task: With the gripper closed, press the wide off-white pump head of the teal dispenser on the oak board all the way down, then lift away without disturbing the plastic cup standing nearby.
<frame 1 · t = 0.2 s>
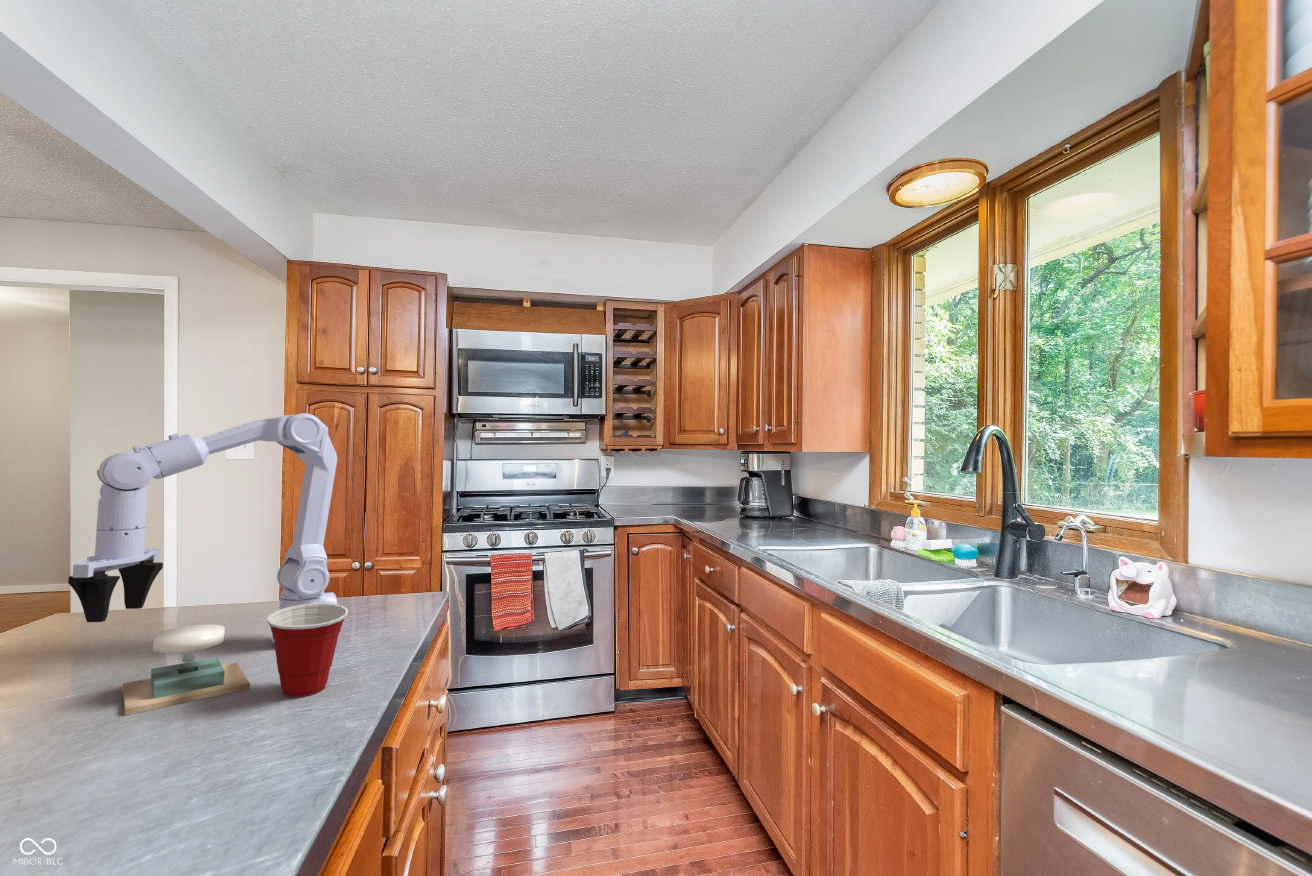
hand: (115, 614, 89), 10 cm above the countertop, fingers open, 7 cm apart
pump head: (189, 646, 86), point 6 cm above the countertop, slide at 0.0 cm
plastic cup: (304, 691, 86), on the countertop
dispenser base: (186, 688, 86), on the countertop
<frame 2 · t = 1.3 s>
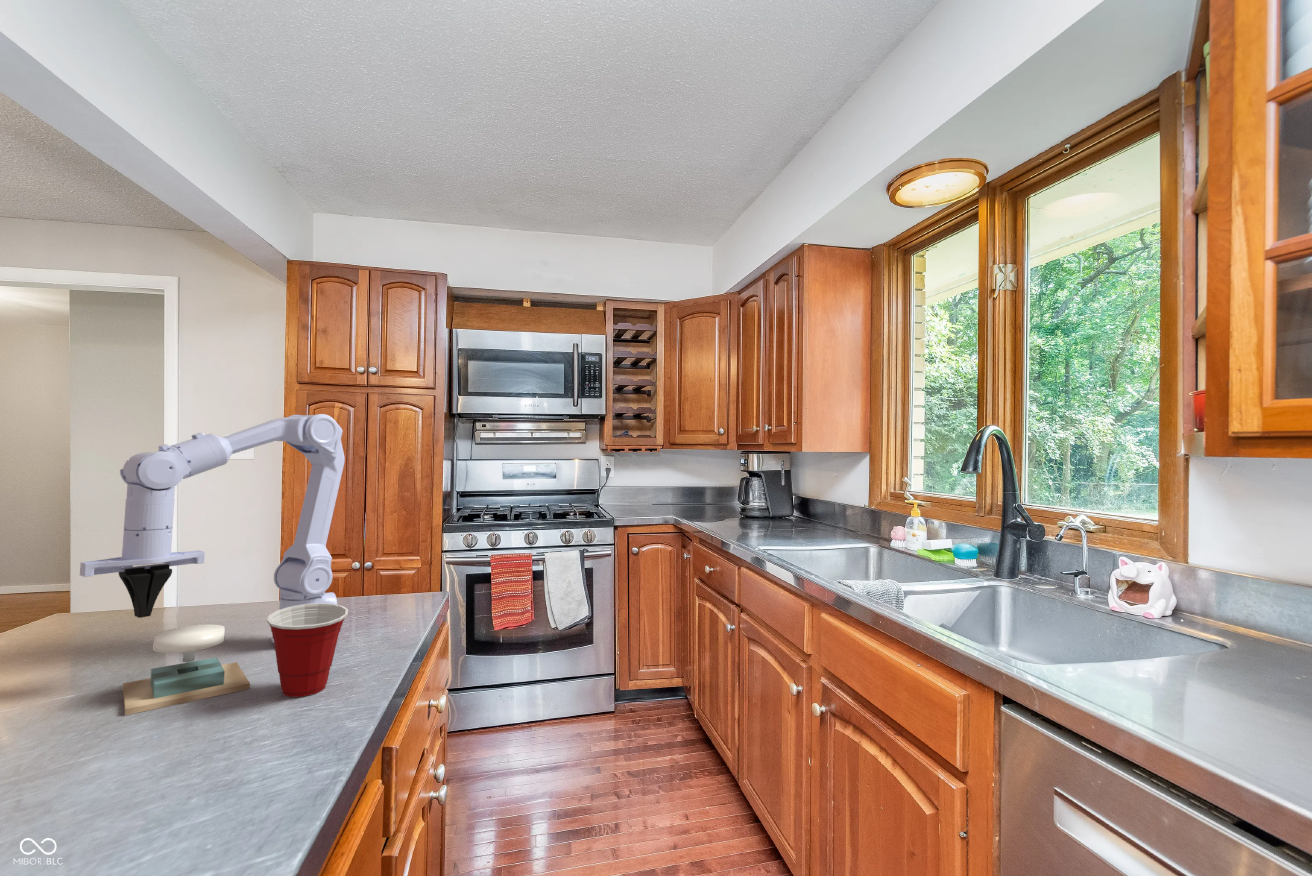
hand: (142, 615, 88), 10 cm above the countertop, fingers closed
nothing on the countertop moved.
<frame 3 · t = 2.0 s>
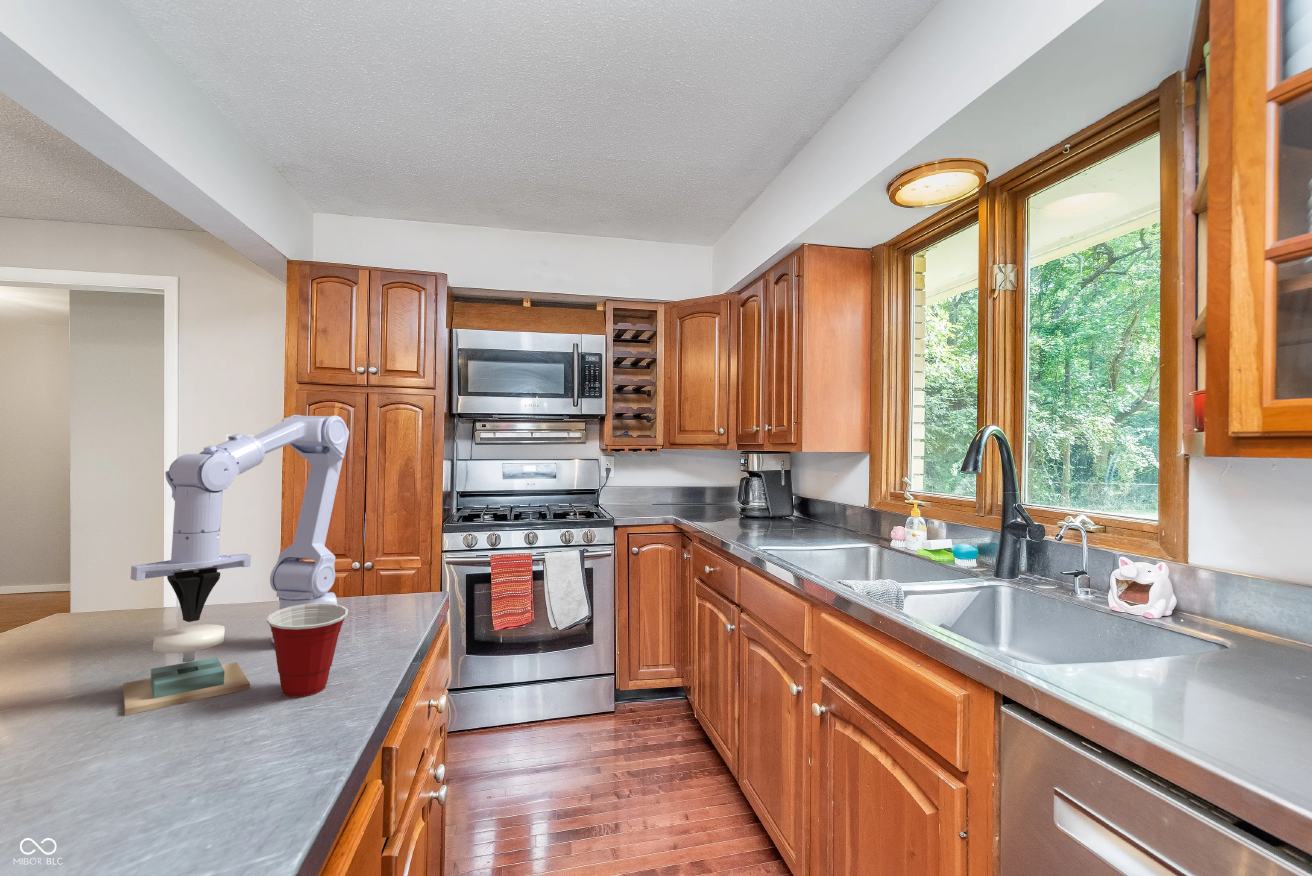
hand: (191, 620, 86), 10 cm above the countertop, fingers closed
nothing on the countertop moved.
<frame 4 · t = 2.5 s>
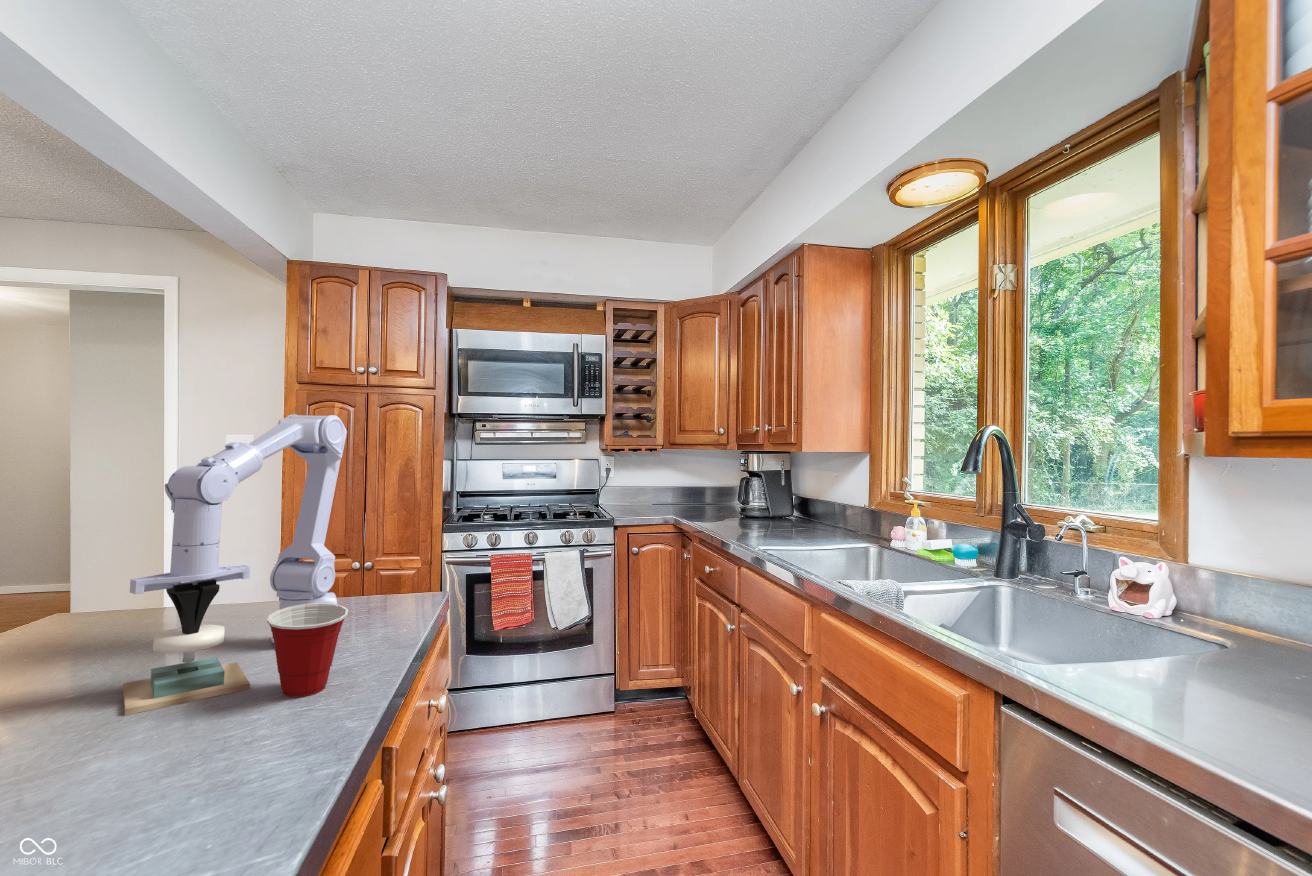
hand: (190, 632, 86), 8 cm above the countertop, fingers closed, pressing on pump head
pump head: (189, 646, 86), point 6 cm above the countertop, slide at 0.0 cm, touching gripper
everything else where it was.
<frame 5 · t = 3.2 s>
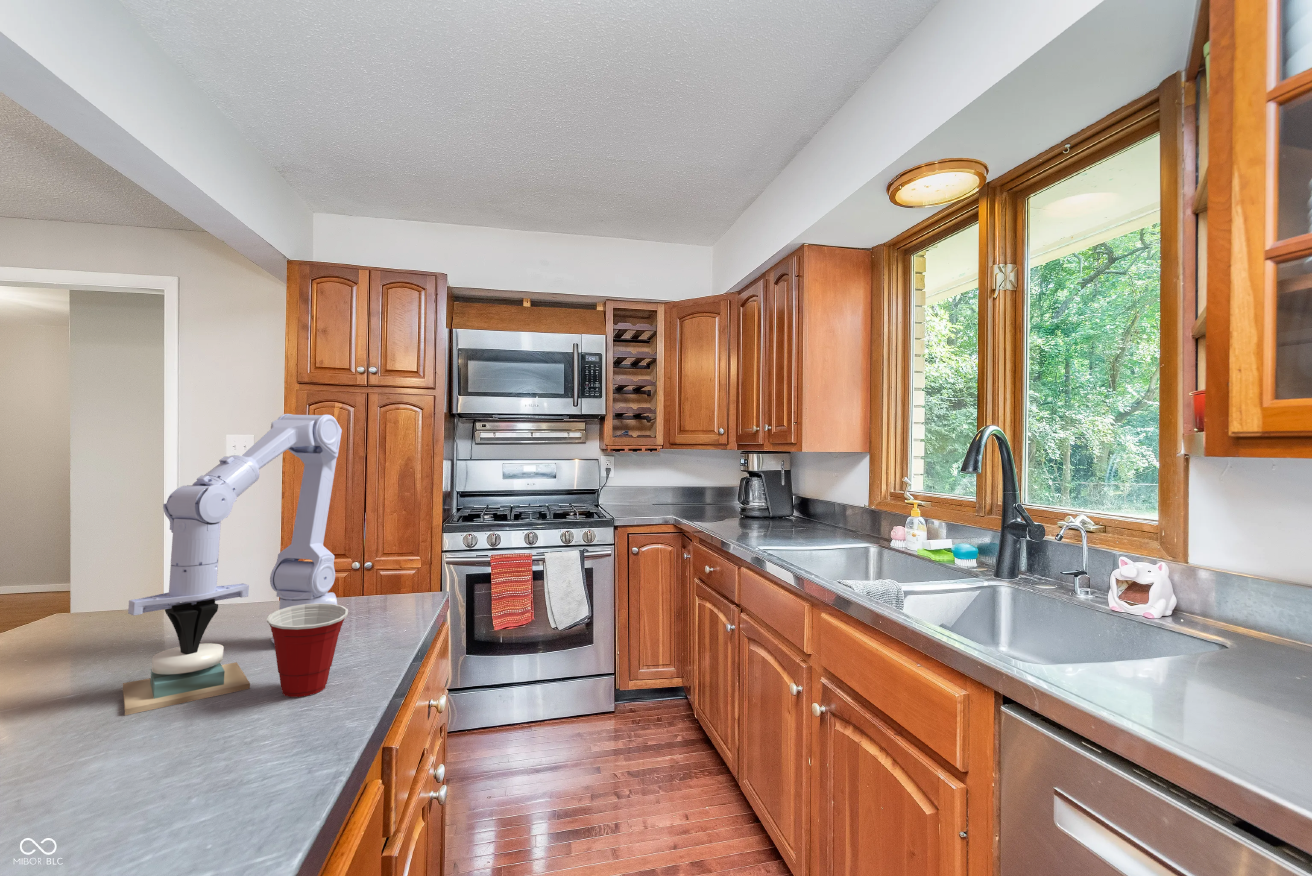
hand: (188, 652, 86), 5 cm above the countertop, fingers closed, pressing on pump head
pump head: (188, 666, 86), point 3 cm above the countertop, slide at 3.0 cm, touching gripper
everything else where it was.
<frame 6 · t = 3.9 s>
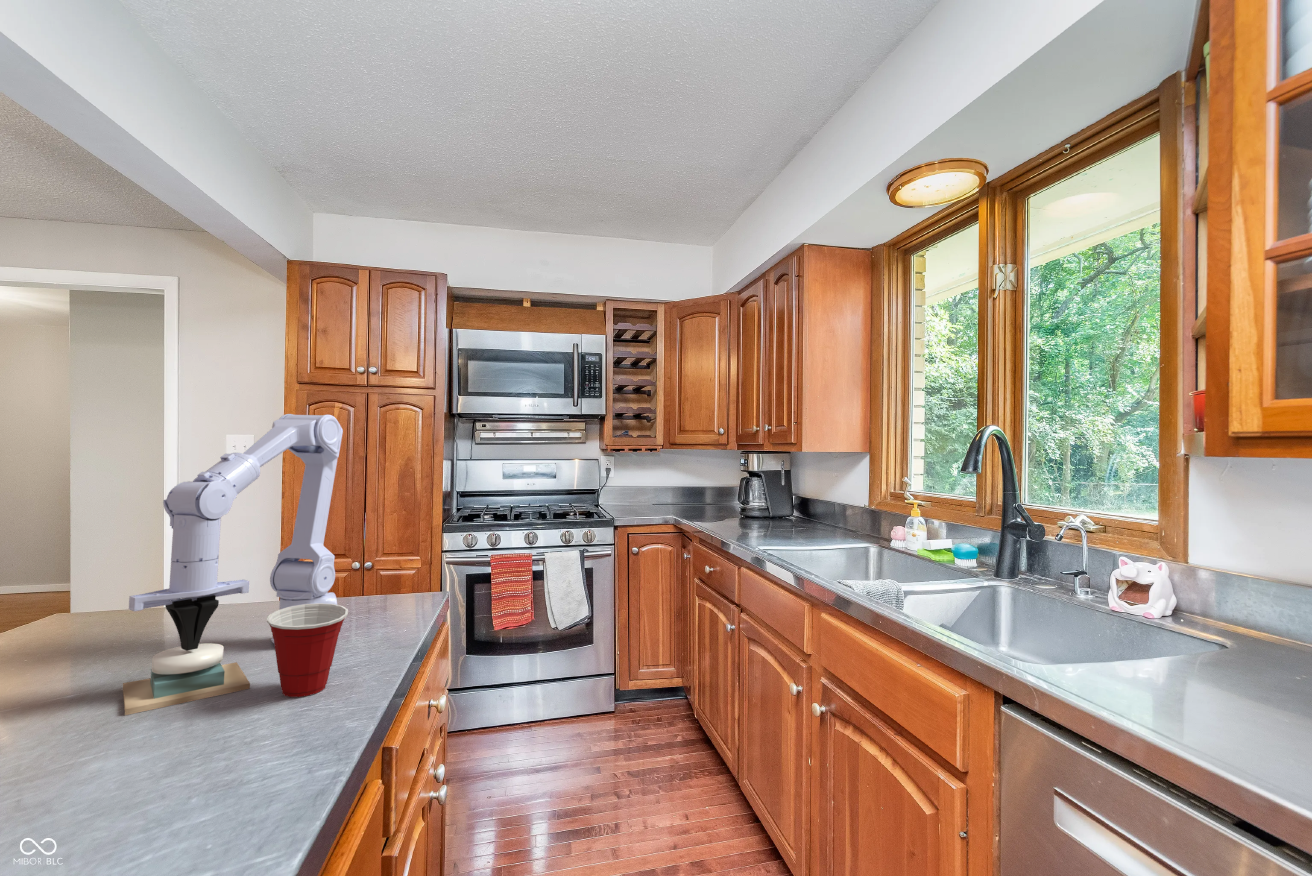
hand: (189, 648, 86), 6 cm above the countertop, fingers closed
pump head: (188, 666, 86), point 3 cm above the countertop, slide at 3.0 cm
everything else where it was.
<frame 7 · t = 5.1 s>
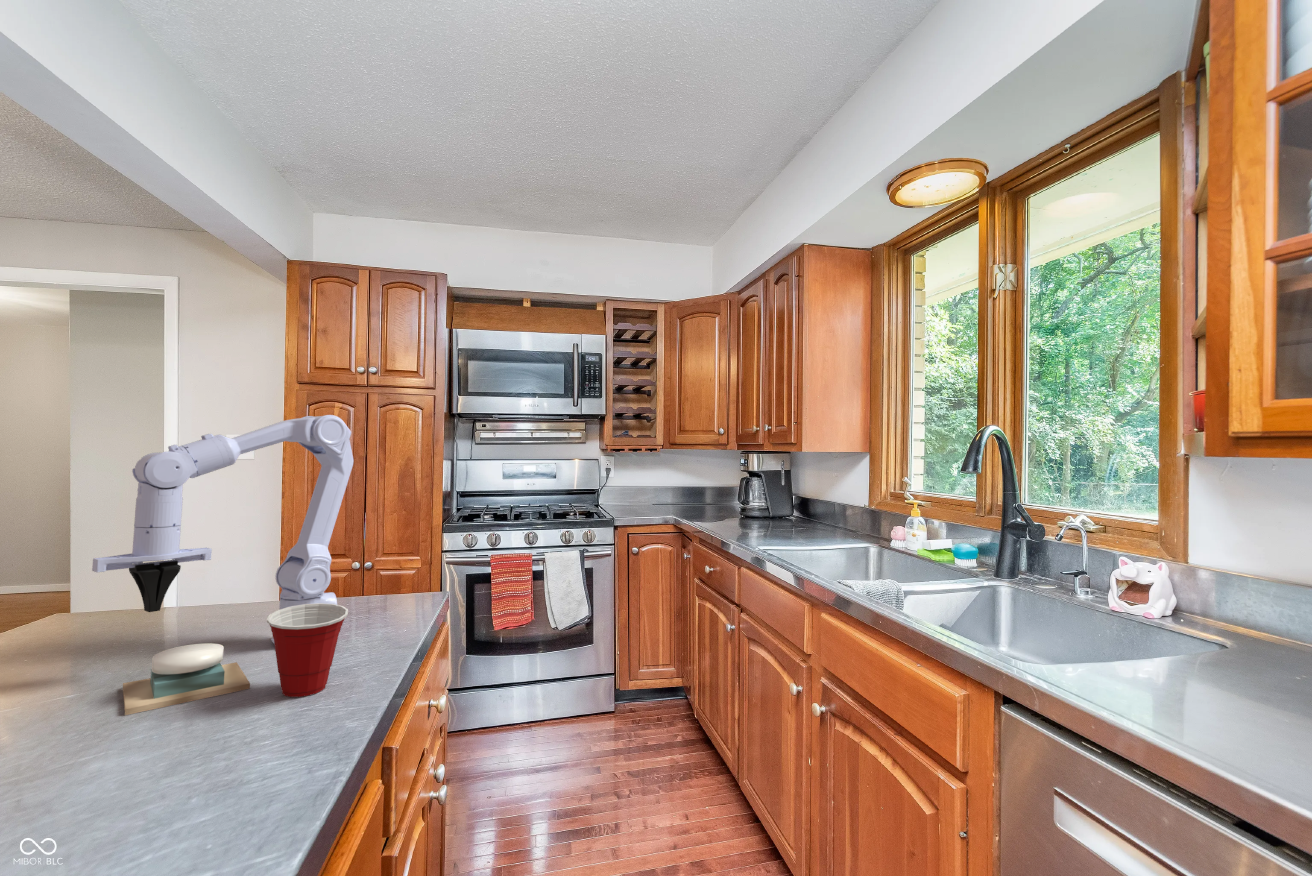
hand: (152, 610, 91), 10 cm above the countertop, fingers closed
nothing on the countertop moved.
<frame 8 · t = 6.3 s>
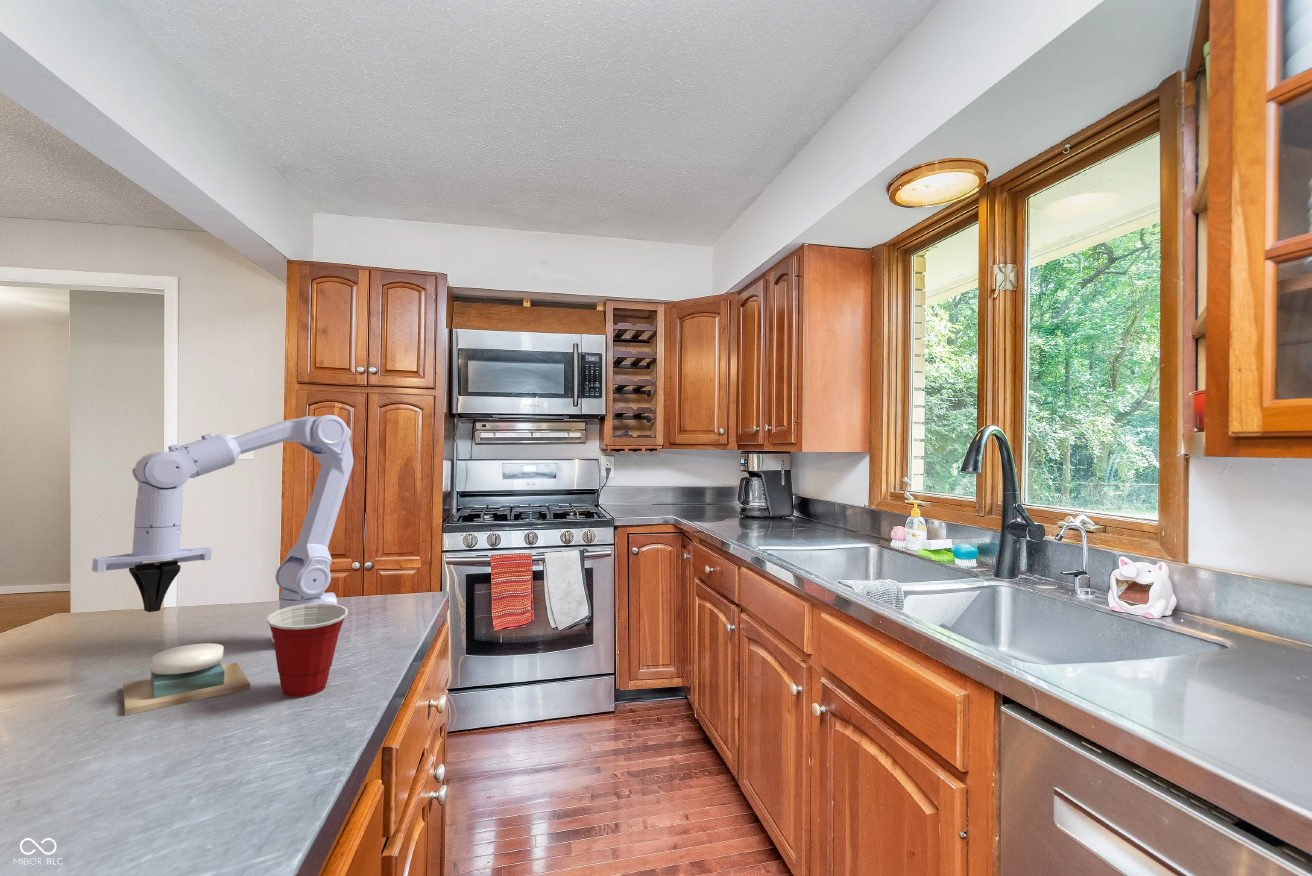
hand: (152, 610, 91), 10 cm above the countertop, fingers closed
nothing on the countertop moved.
at the end: pump head slide at 3.0 cm; plastic cup moved 0.2 cm from its start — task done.
